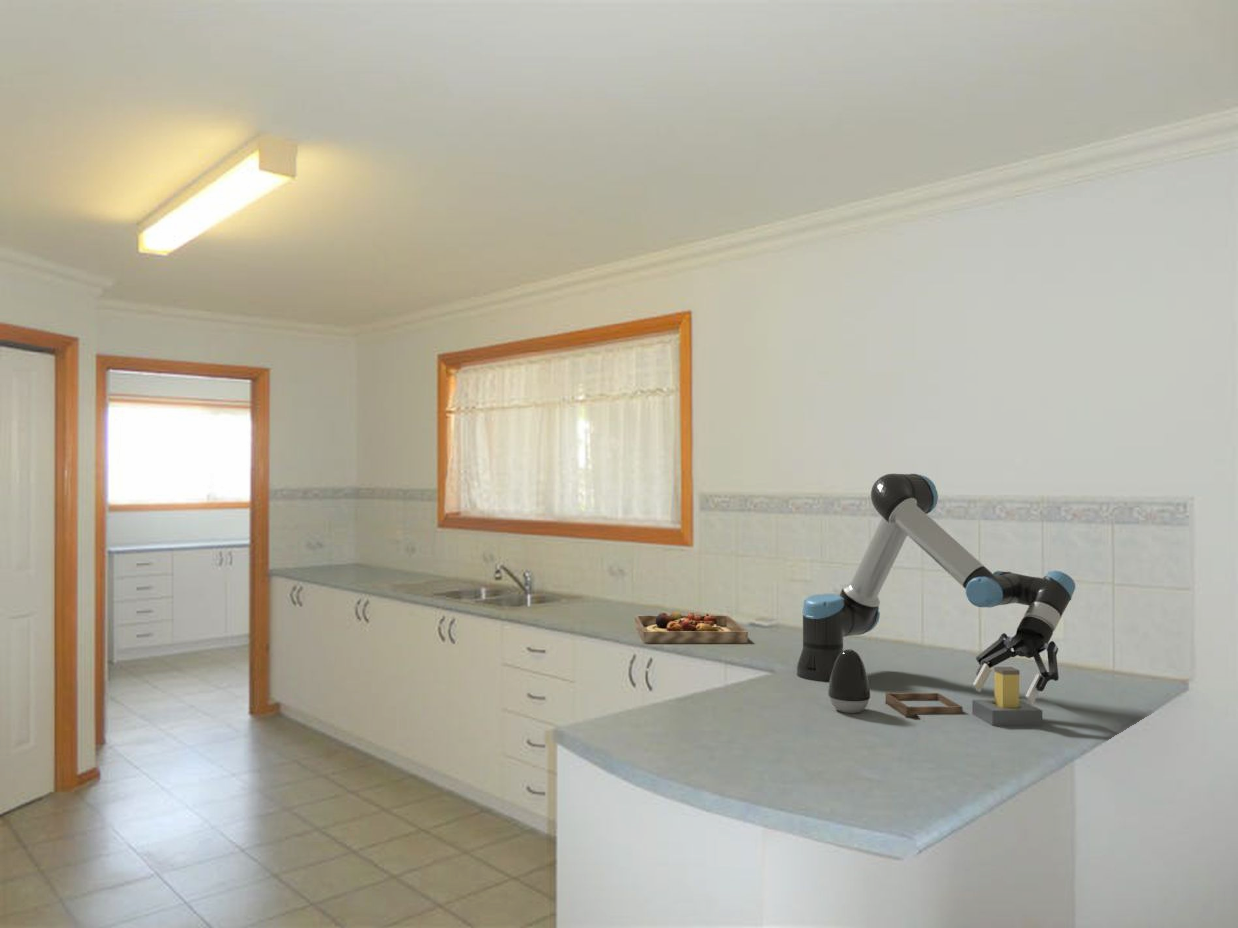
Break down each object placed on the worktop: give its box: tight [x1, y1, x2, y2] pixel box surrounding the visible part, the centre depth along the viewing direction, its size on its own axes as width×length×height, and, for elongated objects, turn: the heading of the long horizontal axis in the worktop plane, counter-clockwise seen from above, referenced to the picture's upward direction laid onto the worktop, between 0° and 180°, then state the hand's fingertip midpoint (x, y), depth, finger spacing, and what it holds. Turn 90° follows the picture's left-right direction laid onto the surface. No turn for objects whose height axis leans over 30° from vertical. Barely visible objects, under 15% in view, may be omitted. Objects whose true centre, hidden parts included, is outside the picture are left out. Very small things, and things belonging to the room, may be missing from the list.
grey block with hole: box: [971, 699, 1043, 727], centre depth 209 cm, size 12×10×4 cm
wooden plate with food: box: [645, 610, 731, 631], centre depth 327 cm, size 32×32×8 cm
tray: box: [885, 692, 964, 718], centre depth 221 cm, size 14×14×2 cm
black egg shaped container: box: [827, 649, 871, 714], centre depth 220 cm, size 10×10×15 cm
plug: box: [993, 666, 1020, 708], centre depth 209 cm, size 4×4×12 cm
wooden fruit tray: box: [634, 614, 749, 644], centre depth 327 cm, size 37×37×4 cm
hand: (1002, 693), depth 208 cm, fingers open, 13 cm apart
